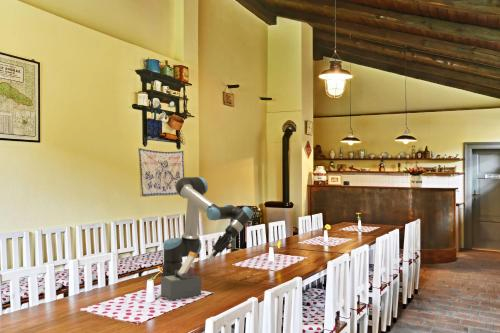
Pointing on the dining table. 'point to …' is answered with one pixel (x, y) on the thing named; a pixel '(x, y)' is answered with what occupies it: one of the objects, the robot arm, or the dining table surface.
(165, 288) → the box
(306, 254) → the dining table surface
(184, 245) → the robot arm
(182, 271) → the lever
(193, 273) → the vegetable
